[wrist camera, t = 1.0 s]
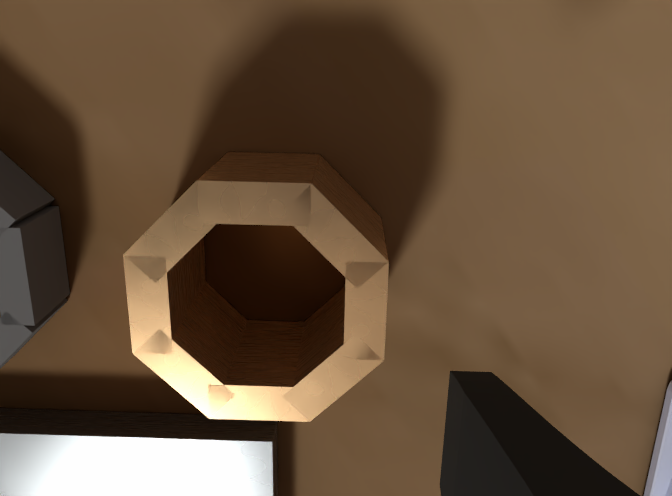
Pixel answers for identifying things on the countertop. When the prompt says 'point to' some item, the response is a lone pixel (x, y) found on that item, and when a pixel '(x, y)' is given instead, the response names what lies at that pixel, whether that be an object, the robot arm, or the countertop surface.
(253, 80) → the countertop surface
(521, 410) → the robot arm
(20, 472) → the piston stand
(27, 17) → the countertop surface
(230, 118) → the countertop surface
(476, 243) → the countertop surface
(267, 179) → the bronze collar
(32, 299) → the grey octagonal ring
